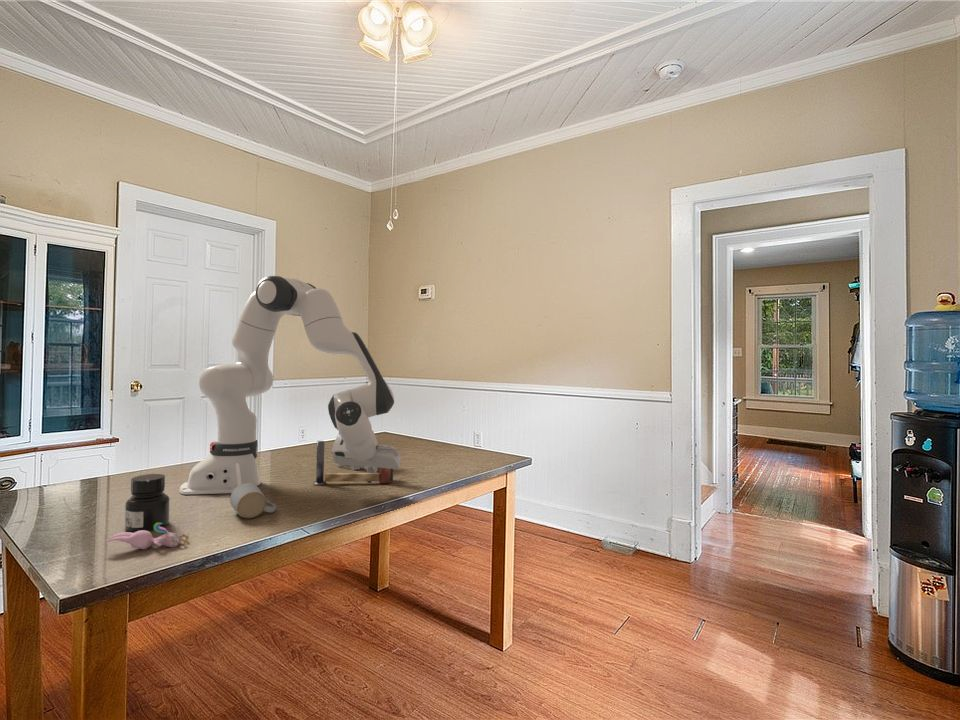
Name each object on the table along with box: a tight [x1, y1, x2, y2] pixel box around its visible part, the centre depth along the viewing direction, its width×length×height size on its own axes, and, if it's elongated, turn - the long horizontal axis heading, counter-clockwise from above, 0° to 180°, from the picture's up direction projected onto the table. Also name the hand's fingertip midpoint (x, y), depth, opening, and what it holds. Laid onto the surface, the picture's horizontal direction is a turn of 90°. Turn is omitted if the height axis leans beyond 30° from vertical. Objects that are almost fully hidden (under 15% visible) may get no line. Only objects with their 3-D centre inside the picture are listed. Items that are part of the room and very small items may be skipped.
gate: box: [324, 468, 391, 484], centre depth 159 cm, size 21×4×11 cm, turn 98°
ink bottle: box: [124, 473, 170, 533], centre depth 117 cm, size 10×9×12 cm
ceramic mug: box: [229, 483, 277, 519], centre depth 127 cm, size 11×8×8 cm
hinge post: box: [312, 440, 327, 486], centre depth 157 cm, size 4×4×14 cm
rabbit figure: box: [105, 522, 190, 550], centre depth 104 cm, size 6×6×15 cm
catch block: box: [377, 467, 394, 481], centre depth 163 cm, size 5×2×5 cm, turn 98°
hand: (372, 470), depth 150 cm, fingers closed
